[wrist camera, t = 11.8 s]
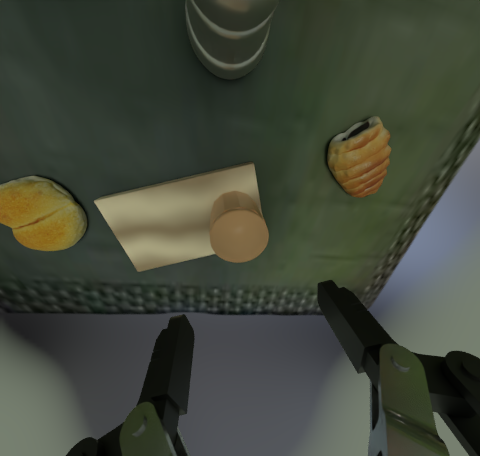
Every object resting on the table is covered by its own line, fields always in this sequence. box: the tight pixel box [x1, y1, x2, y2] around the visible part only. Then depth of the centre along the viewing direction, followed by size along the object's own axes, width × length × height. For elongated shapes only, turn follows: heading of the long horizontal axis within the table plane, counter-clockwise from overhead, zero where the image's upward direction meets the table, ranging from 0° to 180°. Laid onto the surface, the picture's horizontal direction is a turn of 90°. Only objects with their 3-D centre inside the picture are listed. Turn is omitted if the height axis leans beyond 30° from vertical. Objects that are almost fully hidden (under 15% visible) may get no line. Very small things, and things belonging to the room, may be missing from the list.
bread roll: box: [0, 176, 87, 251], centre depth 21 cm, size 8×9×4 cm
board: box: [94, 162, 262, 272], centre depth 24 cm, size 11×19×2 cm, turn 102°
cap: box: [209, 191, 269, 263], centre depth 21 cm, size 6×6×6 cm
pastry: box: [327, 117, 391, 197], centre depth 22 cm, size 9×7×4 cm
